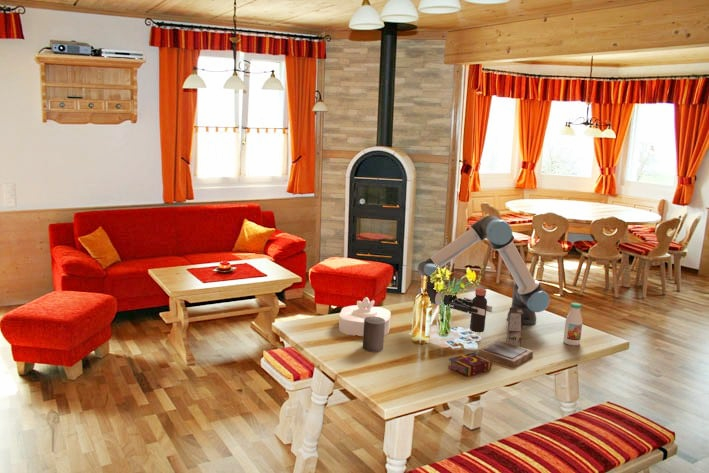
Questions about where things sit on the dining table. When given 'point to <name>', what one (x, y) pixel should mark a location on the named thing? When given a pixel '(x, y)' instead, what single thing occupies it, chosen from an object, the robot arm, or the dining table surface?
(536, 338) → the dining table surface
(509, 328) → the coffee box
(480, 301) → the vinegar
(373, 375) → the dining table surface
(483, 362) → the decorative book
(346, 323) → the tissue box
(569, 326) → the milk bottle
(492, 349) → the brown flat square board
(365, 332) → the pillar candle
